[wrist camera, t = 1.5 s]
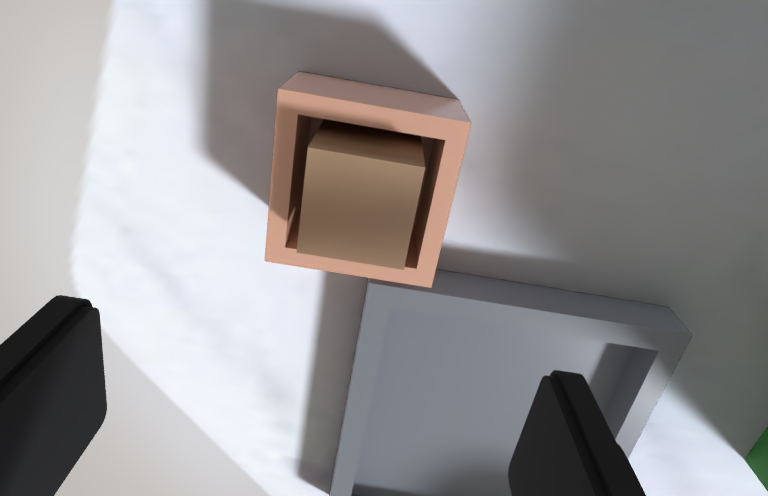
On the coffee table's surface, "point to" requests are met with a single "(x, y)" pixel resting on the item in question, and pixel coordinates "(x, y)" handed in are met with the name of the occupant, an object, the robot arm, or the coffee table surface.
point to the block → (360, 194)
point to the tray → (486, 378)
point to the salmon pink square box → (378, 110)
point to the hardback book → (760, 459)
